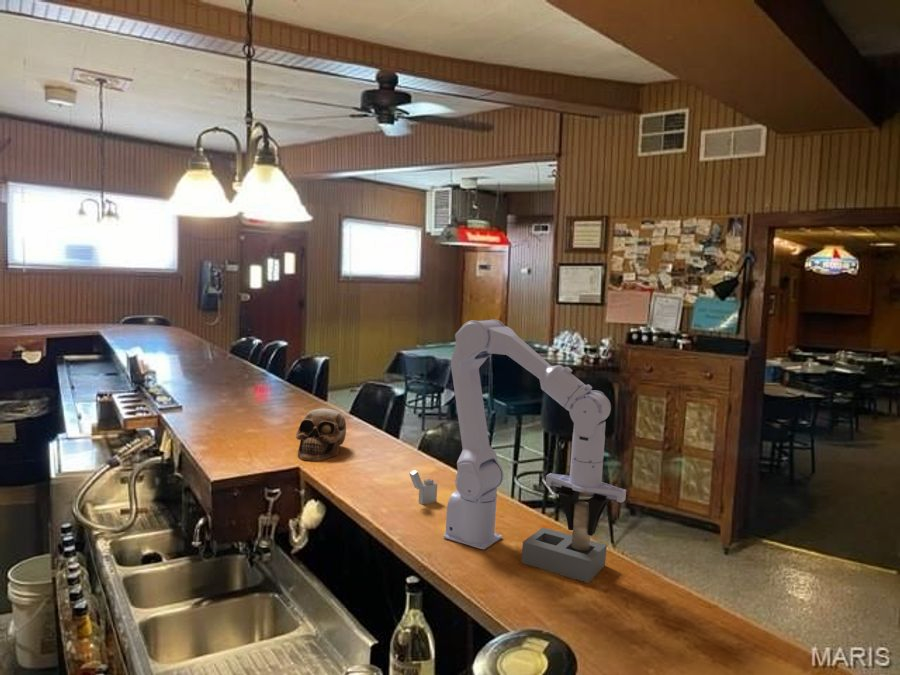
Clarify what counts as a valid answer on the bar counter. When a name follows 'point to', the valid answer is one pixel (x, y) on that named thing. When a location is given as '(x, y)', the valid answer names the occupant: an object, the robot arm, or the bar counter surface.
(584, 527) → the dowel
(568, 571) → the socket block
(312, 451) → the brown skull
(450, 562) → the bar counter surface
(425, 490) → the lighter
